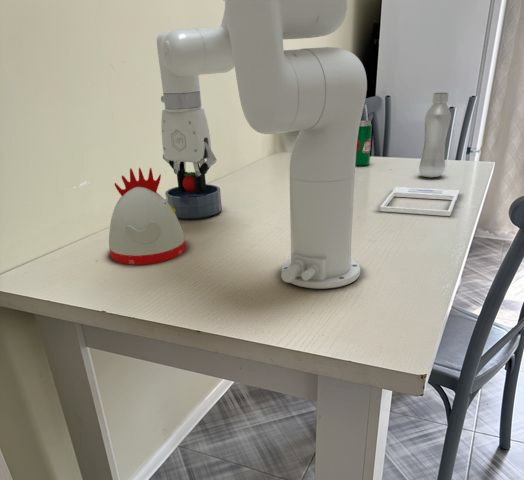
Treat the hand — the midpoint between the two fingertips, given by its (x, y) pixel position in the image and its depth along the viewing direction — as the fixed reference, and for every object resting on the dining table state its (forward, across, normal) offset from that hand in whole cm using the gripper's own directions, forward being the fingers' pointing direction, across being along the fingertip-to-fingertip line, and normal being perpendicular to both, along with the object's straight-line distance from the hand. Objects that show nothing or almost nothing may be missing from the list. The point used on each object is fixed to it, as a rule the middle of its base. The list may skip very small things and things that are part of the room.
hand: (192, 191), depth 114 cm
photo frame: (+5, +44, +25) cm, 51 cm away
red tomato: (0, 0, 0) cm, 0 cm away
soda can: (+5, +17, +60) cm, 63 cm away
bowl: (+5, 0, 0) cm, 5 cm away
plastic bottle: (+5, +40, +51) cm, 65 cm away
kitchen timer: (+5, +7, -24) cm, 26 cm away
